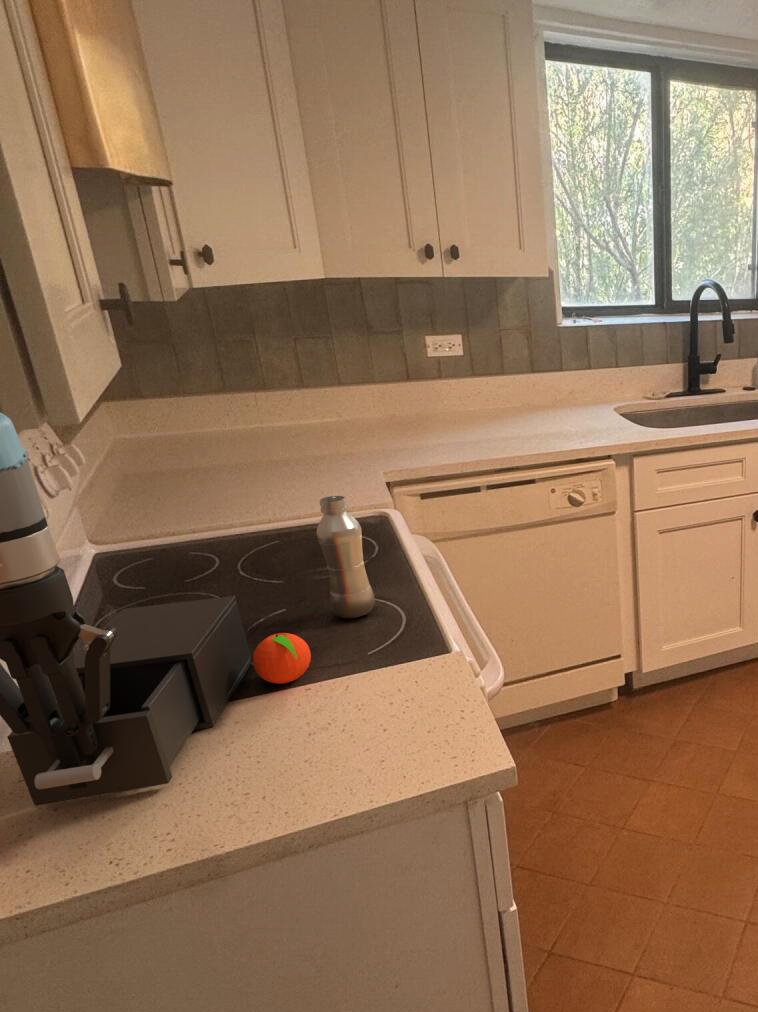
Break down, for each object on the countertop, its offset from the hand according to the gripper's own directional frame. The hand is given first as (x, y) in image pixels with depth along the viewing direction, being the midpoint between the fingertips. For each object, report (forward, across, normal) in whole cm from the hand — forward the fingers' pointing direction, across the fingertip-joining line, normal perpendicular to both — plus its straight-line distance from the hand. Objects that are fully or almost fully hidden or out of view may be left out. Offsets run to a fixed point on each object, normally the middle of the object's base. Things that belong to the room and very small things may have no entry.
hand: (84, 780), depth 83 cm
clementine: (+4, +14, +24) cm, 28 cm away
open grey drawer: (+3, 0, +7) cm, 8 cm away
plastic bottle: (+4, +19, +44) cm, 49 cm away
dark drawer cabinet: (+4, 0, +23) cm, 23 cm away
